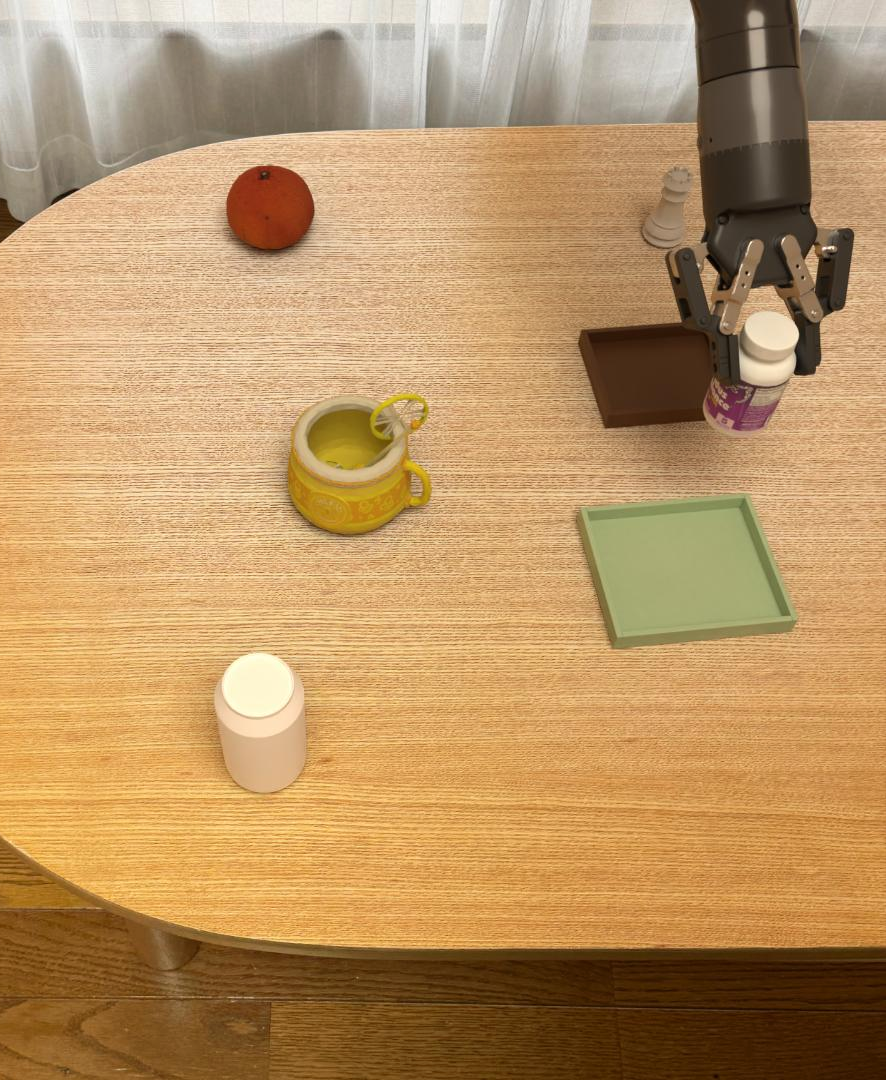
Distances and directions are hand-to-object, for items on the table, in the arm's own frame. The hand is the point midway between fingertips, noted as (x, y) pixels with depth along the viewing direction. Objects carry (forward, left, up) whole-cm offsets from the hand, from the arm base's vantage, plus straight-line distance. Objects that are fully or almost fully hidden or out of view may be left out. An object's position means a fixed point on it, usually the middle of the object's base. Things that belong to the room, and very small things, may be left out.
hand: (767, 379), depth 87 cm
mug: (+30, -6, -18) cm, 35 cm away
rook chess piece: (-6, -37, -18) cm, 42 cm away
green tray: (+4, +5, -18) cm, 19 cm away
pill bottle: (0, -2, -6) cm, 7 cm away
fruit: (+35, -41, -18) cm, 57 cm away
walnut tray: (0, -17, -18) cm, 25 cm away
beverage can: (+40, +18, -18) cm, 47 cm away
